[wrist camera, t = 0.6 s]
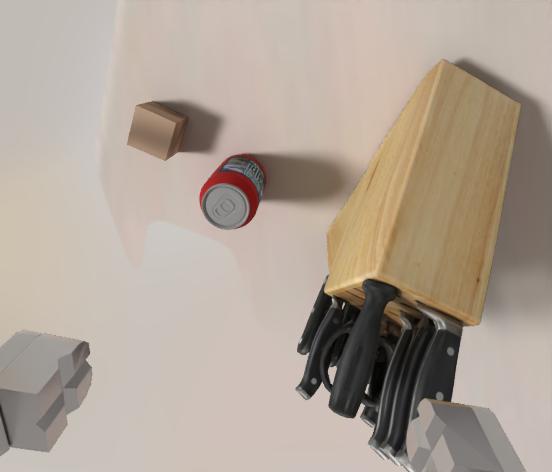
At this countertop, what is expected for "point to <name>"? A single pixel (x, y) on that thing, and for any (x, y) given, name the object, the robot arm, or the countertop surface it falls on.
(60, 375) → the robot arm
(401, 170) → the knife block
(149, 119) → the walnut block
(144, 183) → the countertop surface
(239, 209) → the beverage can
